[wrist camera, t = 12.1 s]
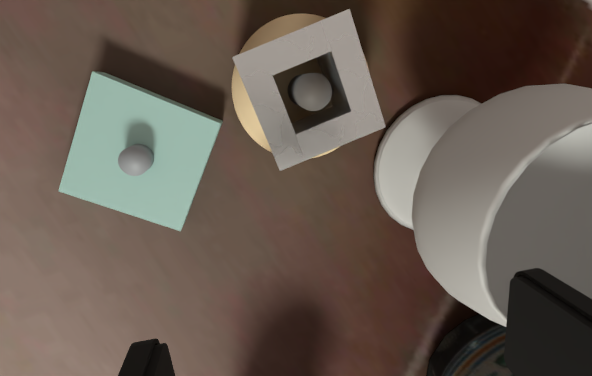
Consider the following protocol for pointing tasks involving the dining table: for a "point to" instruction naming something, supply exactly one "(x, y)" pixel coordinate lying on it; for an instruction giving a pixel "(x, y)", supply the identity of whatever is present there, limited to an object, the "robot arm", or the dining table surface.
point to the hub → (284, 80)
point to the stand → (138, 151)
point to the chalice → (494, 189)
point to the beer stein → (471, 350)
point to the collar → (333, 65)
